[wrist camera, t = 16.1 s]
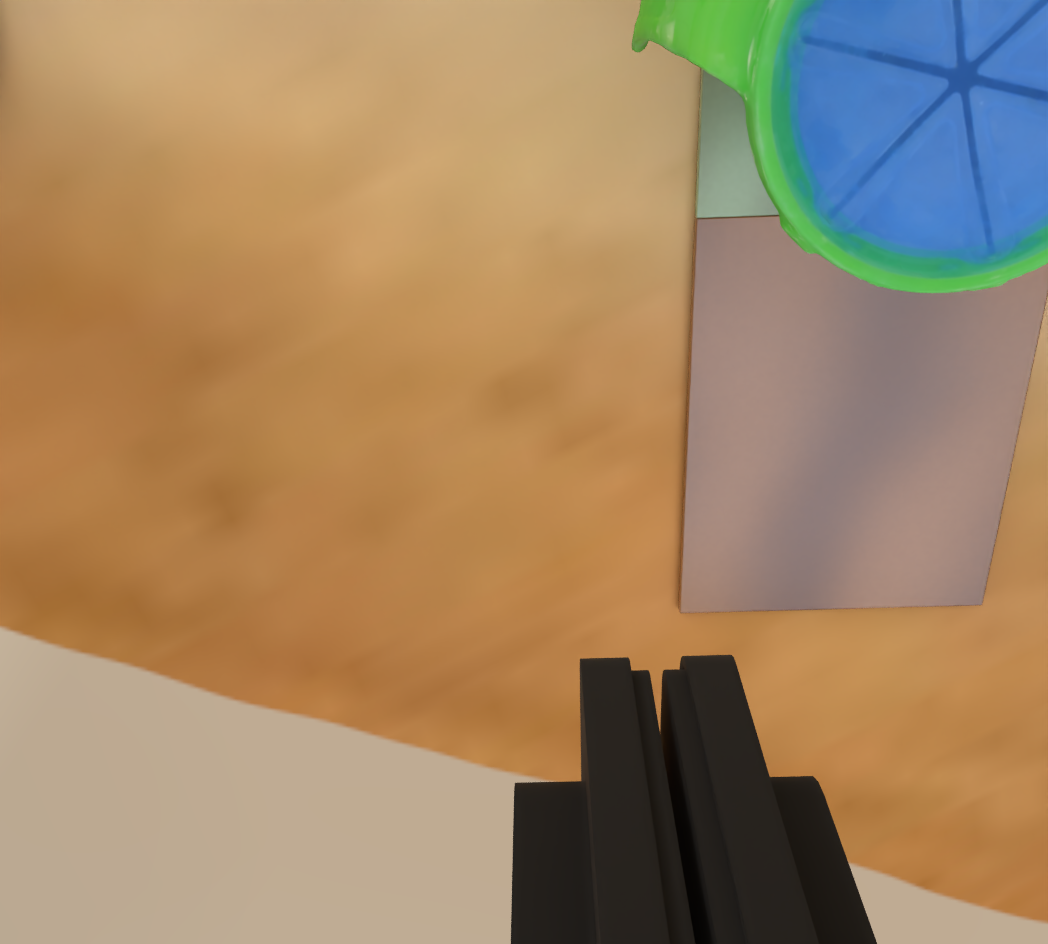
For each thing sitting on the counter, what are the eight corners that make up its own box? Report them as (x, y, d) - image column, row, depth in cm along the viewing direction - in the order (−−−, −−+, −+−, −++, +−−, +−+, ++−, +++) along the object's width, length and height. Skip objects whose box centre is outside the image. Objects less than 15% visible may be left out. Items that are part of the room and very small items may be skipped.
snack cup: (575, 132, 33) (590, 189, 24) (695, -224, 29) (770, -317, 20) (980, 274, 35) (1134, 376, 26) (1152, -36, 31) (1409, -42, 22)
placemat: (678, 608, 43) (679, 613, 42) (711, -185, 30) (713, -186, 29) (978, 600, 42) (982, 605, 42) (1146, -204, 29) (1154, -207, 29)
